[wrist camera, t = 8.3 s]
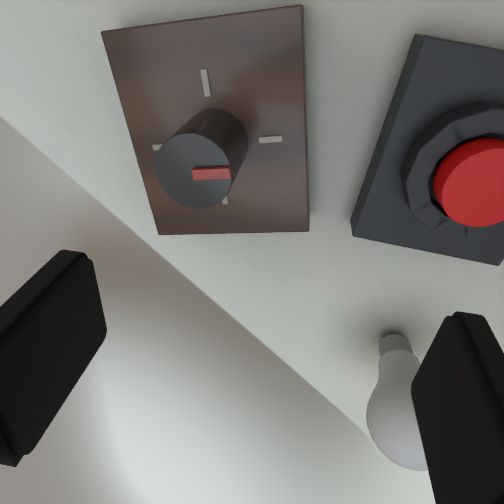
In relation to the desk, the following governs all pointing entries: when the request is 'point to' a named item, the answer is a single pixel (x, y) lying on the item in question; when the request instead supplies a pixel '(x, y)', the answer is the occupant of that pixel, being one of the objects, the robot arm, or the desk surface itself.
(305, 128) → the dimmer panel
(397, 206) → the switch box
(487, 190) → the light button
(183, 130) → the dimmer knob
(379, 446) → the lightbulb
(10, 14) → the desk surface
